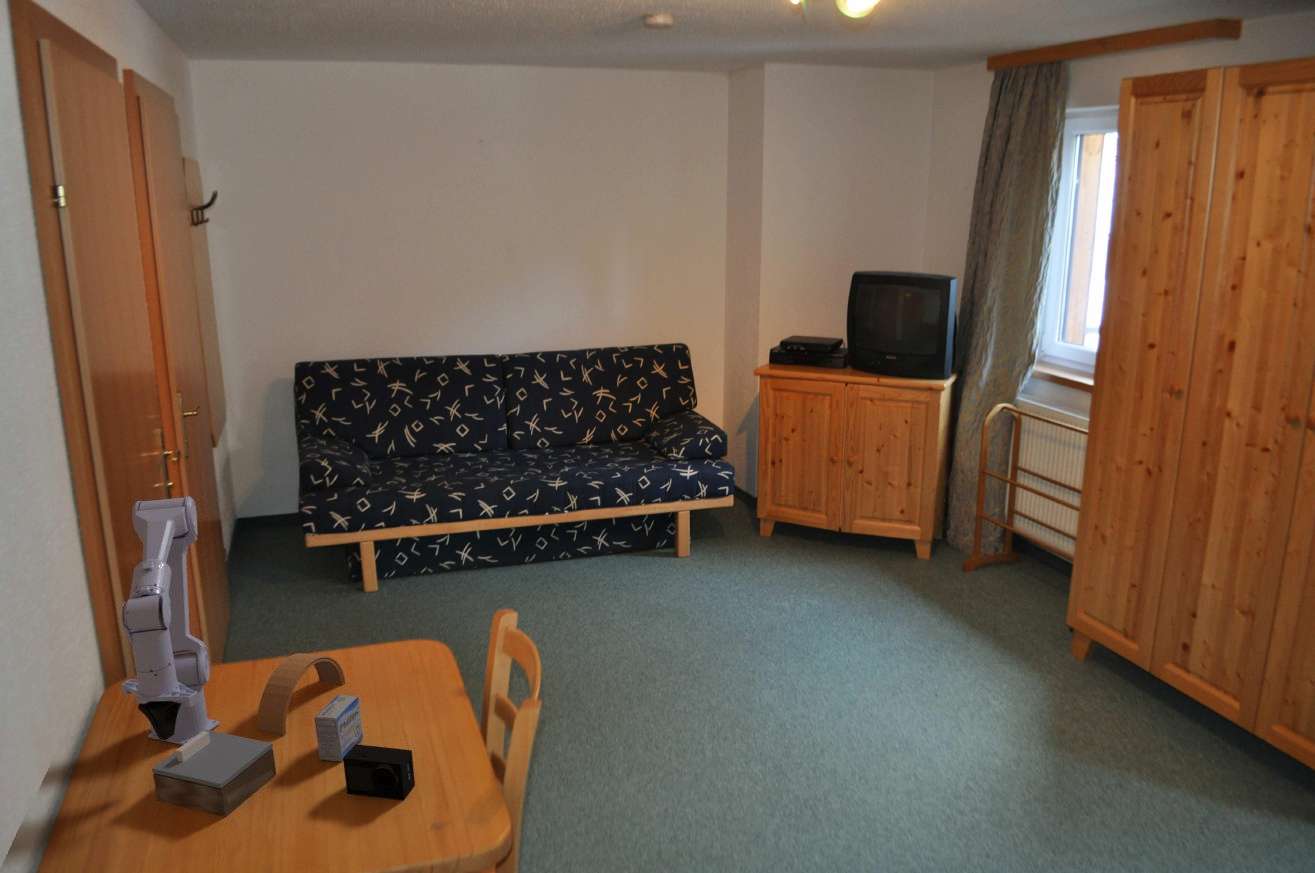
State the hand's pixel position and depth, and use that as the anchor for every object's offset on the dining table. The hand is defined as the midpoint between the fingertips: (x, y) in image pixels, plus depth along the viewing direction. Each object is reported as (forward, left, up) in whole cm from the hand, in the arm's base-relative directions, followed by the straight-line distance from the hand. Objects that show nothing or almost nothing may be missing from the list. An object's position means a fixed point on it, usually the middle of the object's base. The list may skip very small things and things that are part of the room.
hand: (166, 736), depth 165 cm
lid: (+9, 0, -3) cm, 10 cm away
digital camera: (+36, +7, -8) cm, 38 cm away
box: (+9, 0, -8) cm, 12 cm away
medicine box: (+22, +16, -8) cm, 29 cm away
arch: (+6, +26, -8) cm, 28 cm away
